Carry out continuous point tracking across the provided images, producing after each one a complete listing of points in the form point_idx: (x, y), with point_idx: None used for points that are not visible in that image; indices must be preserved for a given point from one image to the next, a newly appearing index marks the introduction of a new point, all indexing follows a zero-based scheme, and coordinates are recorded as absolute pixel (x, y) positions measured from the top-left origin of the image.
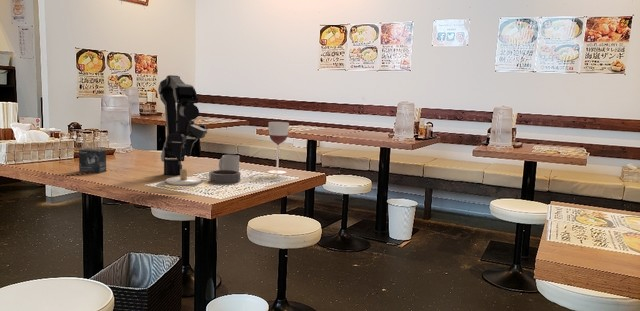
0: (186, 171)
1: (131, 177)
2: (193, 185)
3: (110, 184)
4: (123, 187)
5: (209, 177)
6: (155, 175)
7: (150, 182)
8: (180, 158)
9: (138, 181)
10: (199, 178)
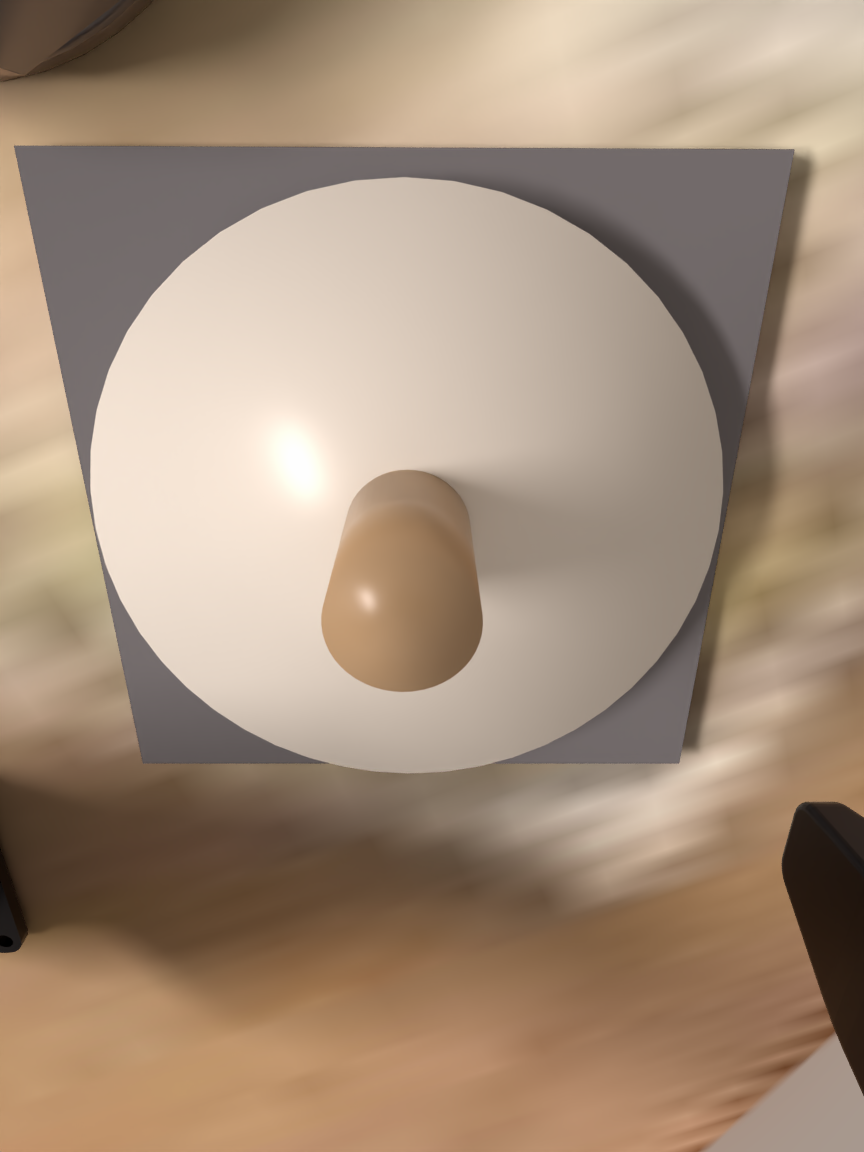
0: (424, 536)
1: (273, 1119)
2: (684, 211)
3: (694, 1120)
4: None
5: (36, 31)
6: (27, 1001)
7: (478, 896)
8: (859, 824)
9: (462, 1005)
10: (168, 281)
